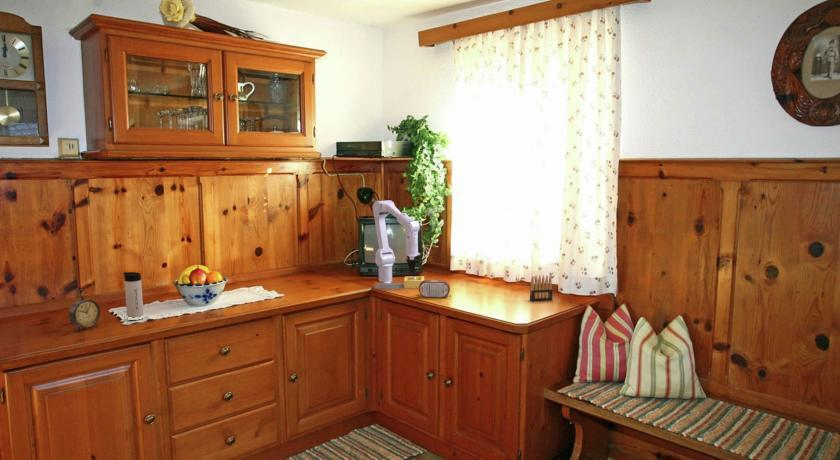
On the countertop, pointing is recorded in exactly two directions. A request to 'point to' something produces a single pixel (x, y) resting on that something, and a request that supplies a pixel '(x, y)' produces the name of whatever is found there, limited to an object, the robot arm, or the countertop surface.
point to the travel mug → (133, 294)
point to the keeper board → (391, 286)
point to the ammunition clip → (541, 289)
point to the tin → (434, 288)
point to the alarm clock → (84, 312)
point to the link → (412, 282)
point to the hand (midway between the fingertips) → (412, 271)
